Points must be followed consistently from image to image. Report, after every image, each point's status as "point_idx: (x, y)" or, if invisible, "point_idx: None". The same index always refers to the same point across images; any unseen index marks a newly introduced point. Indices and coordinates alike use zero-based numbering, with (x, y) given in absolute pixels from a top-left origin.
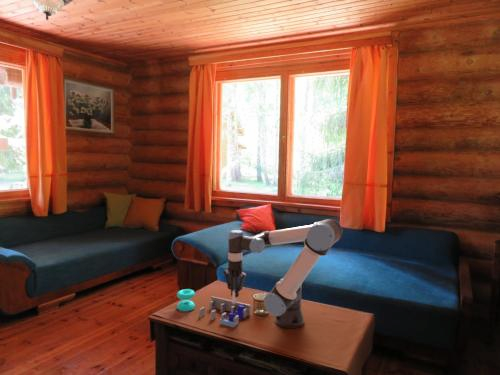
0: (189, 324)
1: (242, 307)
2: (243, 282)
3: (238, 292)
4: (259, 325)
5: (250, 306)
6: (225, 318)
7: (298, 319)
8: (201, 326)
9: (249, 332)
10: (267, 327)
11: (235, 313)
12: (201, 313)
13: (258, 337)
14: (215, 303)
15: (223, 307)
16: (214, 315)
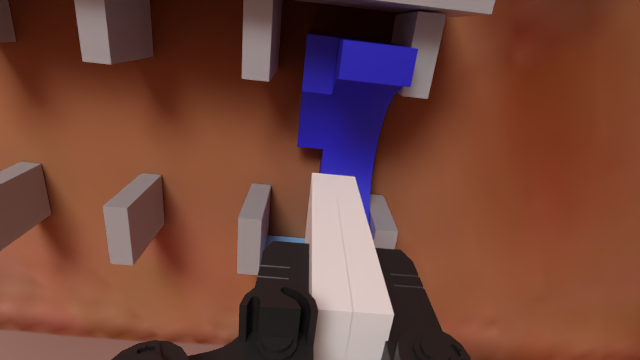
0: (60, 321)
1: (397, 84)
2: None
3: (431, 318)
4: (558, 158)
5: None
6: (266, 214)
7: None
8: (150, 315)
9: (495, 273)
10: (628, 164)
11: (314, 103)
12: (25, 225)
13: (564, 304)
14: None
15: (129, 35)
16: (149, 207)
